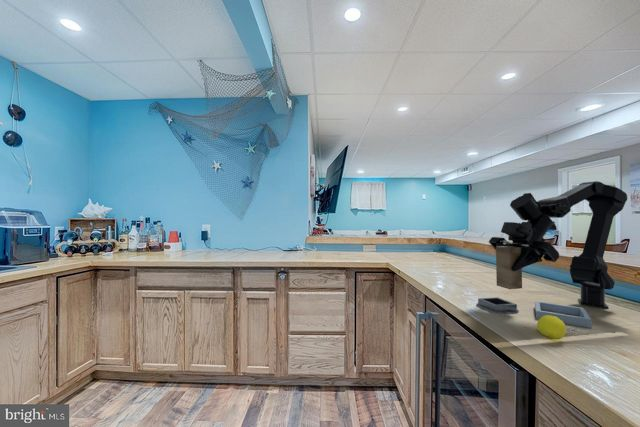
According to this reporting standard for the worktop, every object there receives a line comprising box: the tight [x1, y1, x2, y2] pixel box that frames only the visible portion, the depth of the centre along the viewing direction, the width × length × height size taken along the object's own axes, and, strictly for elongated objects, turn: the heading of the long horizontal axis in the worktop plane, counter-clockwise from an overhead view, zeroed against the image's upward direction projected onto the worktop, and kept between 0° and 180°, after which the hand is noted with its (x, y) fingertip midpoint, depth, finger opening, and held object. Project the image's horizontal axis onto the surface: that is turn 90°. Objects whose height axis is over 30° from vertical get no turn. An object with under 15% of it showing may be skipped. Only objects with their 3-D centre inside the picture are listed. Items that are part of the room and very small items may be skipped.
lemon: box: [536, 315, 567, 340], centre depth 66 cm, size 7×5×5 cm
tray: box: [534, 300, 593, 329], centre depth 78 cm, size 11×11×3 cm
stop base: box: [476, 296, 520, 315], centre depth 85 cm, size 11×11×3 cm
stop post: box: [495, 246, 523, 290], centre depth 83 cm, size 4×4×12 cm
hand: (505, 268), depth 83 cm, fingers closed on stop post, 4 cm apart
